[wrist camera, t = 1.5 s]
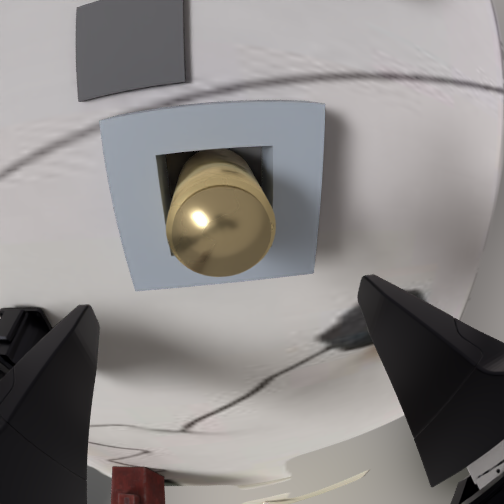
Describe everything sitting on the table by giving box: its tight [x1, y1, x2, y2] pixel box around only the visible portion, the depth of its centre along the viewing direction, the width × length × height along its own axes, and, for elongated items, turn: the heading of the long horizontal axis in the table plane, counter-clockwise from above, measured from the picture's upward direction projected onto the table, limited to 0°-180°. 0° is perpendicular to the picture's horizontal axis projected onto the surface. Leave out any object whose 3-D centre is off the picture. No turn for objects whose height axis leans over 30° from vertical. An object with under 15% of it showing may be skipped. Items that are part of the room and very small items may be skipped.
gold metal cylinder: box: [166, 148, 276, 277], centre depth 16 cm, size 5×5×7 cm
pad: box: [76, 0, 185, 102], centre depth 13 cm, size 7×7×1 cm
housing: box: [99, 100, 325, 291], centre depth 18 cm, size 11×12×4 cm
